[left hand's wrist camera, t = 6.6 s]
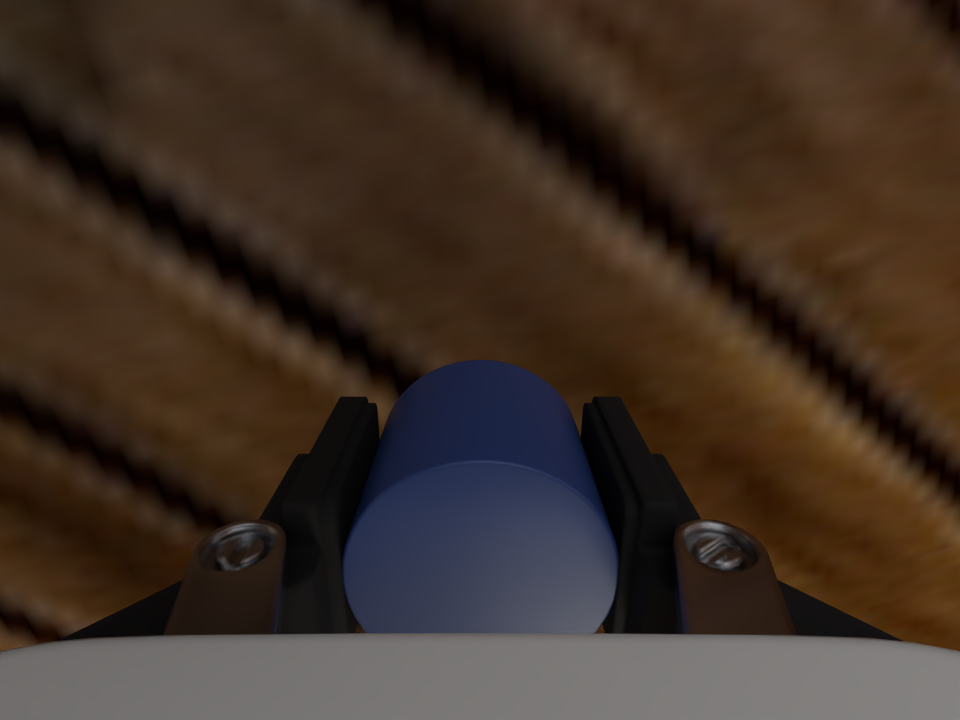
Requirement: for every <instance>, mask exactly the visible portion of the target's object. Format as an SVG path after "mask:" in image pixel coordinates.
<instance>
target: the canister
mask: <svg viewBox="0 0 960 720" xmlns="http://www.w3.org/2000/svg"><path fill="white" fill-rule="evenodd" d="M618 572H619V554H618V550H617V546H616V541H615V538H614V535H613V533H612V530H611V527H610V524H609V521H608V518H607V515H606V512H605V509H604V506H603V503H602V500H601V497H600V494H599V491H598V488H597V485H596V482H595V480H594V477H593V474H592V471H591V468H590V465H589V462H588V459H587V456H586V453H585V450H584V447H583V444H582V441H581V438H580V435H579V432H578V429H577V426H576V424H575V421H574V418H573V416H572V414H571V411H570V410H569V408H568V406H567V405H566V403H565V401H564V400H563V399H562V397H561V396H560V395H559V394H558V392H557V391H556V390H555V389H553V388H552V387H551V386H550V385H549V384H548V383H547V382H546V381H544V380H543V379H541V378H540V377H538V376H537V375H535V374H533V373H531V372H529V371H528V370H526V369H523V368H520V367H518V366H515V365H512V364H508V363H504V362H499V361H490V360H470V361H463V362H457V363H453V364H449V365H446V366H443V367H441V368H438V369H436V370H433V371H431V372H430V373H428V374H426V375H424V376H423V377H421V378H420V379H418V380H417V381H416V382H414V383H413V384H412V385H411V386H410V387H409V388H408V389H407V390H406V391H405V392H404V393H403V394H402V395H401V396H400V398H399V399H398V400H397V401H396V403H395V404H394V406H393V408H392V410H391V412H390V413H389V416H388V419H387V421H386V424H385V427H384V430H383V433H382V436H381V439H380V442H379V445H378V448H377V451H376V454H375V457H374V460H373V463H372V466H371V469H370V472H369V475H368V478H367V481H366V484H365V487H364V490H363V493H362V496H361V499H360V502H359V504H358V507H357V510H356V513H355V516H354V519H353V522H352V525H351V528H350V531H349V534H348V537H347V540H346V543H345V548H344V552H343V557H342V578H343V586H344V591H345V595H346V598H347V601H348V604H349V606H350V608H351V610H352V613H353V615H354V617H355V618H356V620H357V621H358V623H359V624H360V626H361V627H362V629H363V630H364V631H365V632H366V633H585V634H595V633H596V631H597V630H598V629H599V628H600V627H601V625H602V623H603V622H604V620H605V619H606V617H607V616H608V614H609V612H610V609H611V607H612V605H613V603H614V600H615V596H616V590H617V582H618Z"/></svg>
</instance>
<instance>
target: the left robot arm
mask: <svg viewBox="0 0 960 720" xmlns="http://www.w3.org/2000/svg"><path fill="white" fill-rule="evenodd" d="M581 441H582V444H583V447H584V450H585V453H586V456H587V459H588V462H589V465H590V468H591V471H592V474H593V477H594V480H595V482H596V485H597V488H598V491H599V494H600V497H601V500H602V503H603V506H604V509H605V512H606V515H607V518H608V521H609V524H610V527H611V530H612V533H613V535H614V538H615V541H616V546H617V550H618V554H619V572H618V582H617V590H616V596H615V600H614V603H613V605H612V607H611V609H610V612H609V614H608V616H607V617H606V619H605V620H604V622H603V627H604V631H605V634H585V633H365V634H355V632H356V628H357V625H358V621H357V620H356V618H355V617H354V615H353V613H352V610H351V608H350V606H349V604H348V601H347V598H346V595H345V591H344V586H343V578H342V557H343V552H344V548H345V543H346V540H347V537H348V534H349V531H350V528H351V525H352V522H353V519H354V516H355V513H356V510H357V507H358V504H359V502H360V499H361V496H362V493H363V490H364V487H365V484H366V481H367V478H368V475H369V472H370V469H371V466H372V463H373V460H374V457H375V454H376V451H377V448H378V445H379V442H380V438H379V425H378V411H377V405H376V403H368V399H367V397H340V398H339V400H338V402H337V404H336V406H335V408H334V409H333V411H332V413H331V415H330V417H329V419H328V420H327V422H326V424H325V426H324V428H323V430H322V431H321V433H320V435H319V437H318V439H317V441H316V442H315V444H314V446H313V448H312V450H311V451H310V453H309V454H298V455H297V456H296V457H295V459H294V461H293V462H292V464H291V466H290V467H289V469H288V471H287V473H286V474H285V476H284V478H283V479H282V481H281V483H280V484H279V486H278V488H277V490H276V491H275V493H274V495H273V496H272V498H271V500H270V502H269V503H268V505H267V507H266V508H265V510H264V512H263V514H262V515H261V517H260V519H255V520H244V521H239V522H235V523H231V524H229V525H226V526H223V527H221V528H219V529H217V530H215V531H214V532H212V533H210V534H209V535H207V536H206V537H205V538H204V539H203V540H202V541H201V542H200V543H198V544H197V546H196V548H195V549H194V551H193V553H192V555H191V558H190V561H189V563H188V566H187V569H186V572H185V575H184V578H183V580H182V581H180V582H178V583H175V584H173V585H171V586H169V587H167V588H165V589H163V590H161V591H159V592H157V593H155V594H153V595H151V596H149V597H147V598H145V599H143V600H141V601H139V602H136V603H134V604H132V605H130V606H128V607H126V608H124V609H122V610H120V611H118V612H116V613H114V614H112V615H110V616H108V617H106V618H104V619H102V620H100V621H98V622H95V623H93V624H91V625H89V626H87V627H85V628H83V629H81V630H79V631H77V632H75V633H73V634H71V635H69V636H67V637H65V638H63V639H61V640H59V641H56V642H47V643H42V644H36V645H31V646H25V647H20V648H15V649H9V650H4V651H0V720H960V651H956V650H951V649H945V648H940V647H935V646H929V645H924V644H918V643H913V642H904V641H902V640H900V639H898V638H896V637H893V636H891V635H889V634H887V633H885V632H883V631H881V630H879V629H877V628H875V627H873V626H871V625H869V624H867V623H865V622H863V621H861V620H859V619H857V618H855V617H852V616H850V615H848V614H846V613H844V612H842V611H840V610H838V609H836V608H834V607H832V606H830V605H828V604H826V603H824V602H822V601H820V600H818V599H816V598H814V597H811V596H809V595H807V594H805V593H803V592H801V591H799V590H797V589H795V588H793V587H791V586H789V585H787V584H785V583H783V582H781V581H779V580H777V578H776V575H775V572H774V569H773V566H772V563H771V561H770V558H769V555H768V553H767V551H766V549H765V548H764V546H763V544H762V543H760V542H759V541H758V540H757V539H756V538H755V537H754V536H753V535H751V534H750V533H748V532H746V531H745V530H743V529H741V528H739V527H737V526H734V525H731V524H729V523H725V522H721V521H716V520H705V519H701V518H700V516H699V515H698V513H697V511H696V510H695V508H694V506H693V504H692V503H691V501H690V499H689V498H688V496H687V494H686V493H685V491H684V489H683V487H682V486H681V484H680V482H679V481H678V479H677V477H676V475H675V474H674V472H673V470H672V469H671V467H670V465H669V463H668V462H667V460H666V458H665V457H664V456H663V455H662V454H651V453H650V451H649V449H648V447H647V445H646V444H645V442H644V440H643V438H642V436H641V434H640V433H639V431H638V429H637V427H636V425H635V423H634V422H633V420H632V418H631V416H630V414H629V412H628V411H627V409H626V407H625V405H624V403H623V402H622V400H621V398H620V397H594V398H593V400H592V403H584V406H583V416H582V429H581Z"/></svg>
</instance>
